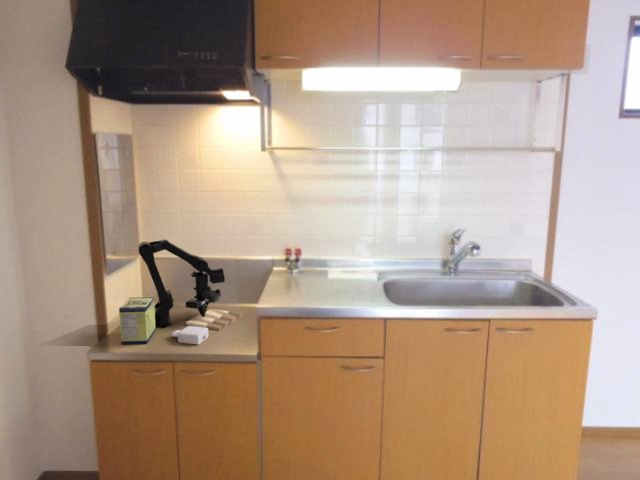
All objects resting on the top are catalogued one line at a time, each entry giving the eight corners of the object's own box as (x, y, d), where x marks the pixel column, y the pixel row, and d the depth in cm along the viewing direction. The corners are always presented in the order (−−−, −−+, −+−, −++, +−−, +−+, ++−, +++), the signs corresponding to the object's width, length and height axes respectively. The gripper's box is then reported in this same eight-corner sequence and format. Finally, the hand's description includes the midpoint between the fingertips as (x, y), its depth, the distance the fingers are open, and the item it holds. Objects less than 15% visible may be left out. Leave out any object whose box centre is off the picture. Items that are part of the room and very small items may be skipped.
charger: (176, 334, 202) (208, 337, 199) (165, 342, 193) (198, 345, 190) (176, 323, 201) (208, 326, 198) (164, 331, 192) (198, 334, 189)
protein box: (156, 330, 206) (154, 296, 203) (147, 344, 191) (145, 308, 188) (131, 330, 204) (129, 297, 202) (120, 345, 189) (118, 308, 186)
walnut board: (219, 331, 206) (219, 327, 205) (206, 328, 208) (206, 325, 208) (242, 316, 224) (242, 313, 224) (229, 314, 226) (229, 311, 226)
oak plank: (204, 328, 208) (204, 325, 208) (186, 325, 212) (186, 321, 211) (228, 314, 227) (228, 311, 226) (211, 311, 230) (210, 308, 230)
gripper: (205, 292, 204) (206, 325, 207) (227, 281, 221) (228, 312, 224) (183, 289, 208) (185, 322, 211) (207, 279, 225) (208, 309, 228)
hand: (203, 316), depth 218 cm, fingers closed
